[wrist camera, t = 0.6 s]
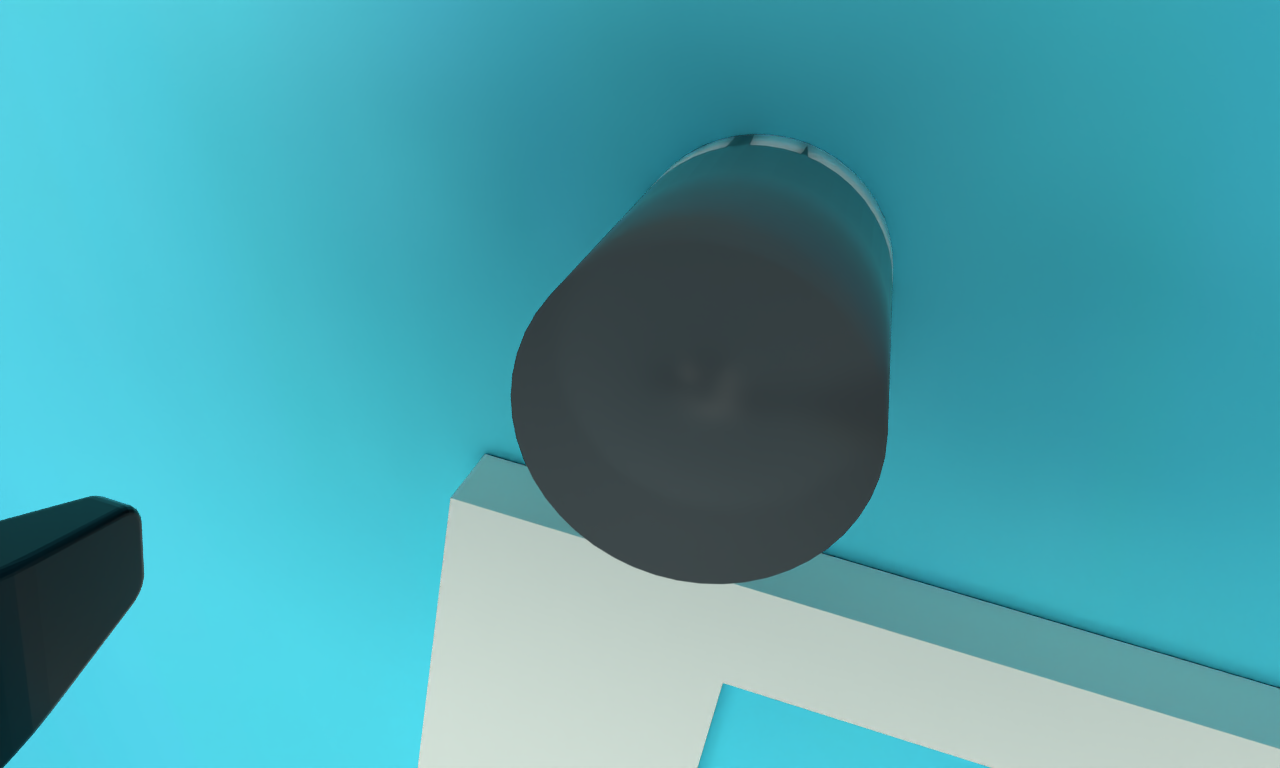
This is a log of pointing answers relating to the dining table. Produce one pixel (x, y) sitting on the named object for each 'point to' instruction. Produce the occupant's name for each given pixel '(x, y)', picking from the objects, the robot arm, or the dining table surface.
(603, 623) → the panel with square recess
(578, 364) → the lens
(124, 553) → the robot arm
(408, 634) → the dining table surface
